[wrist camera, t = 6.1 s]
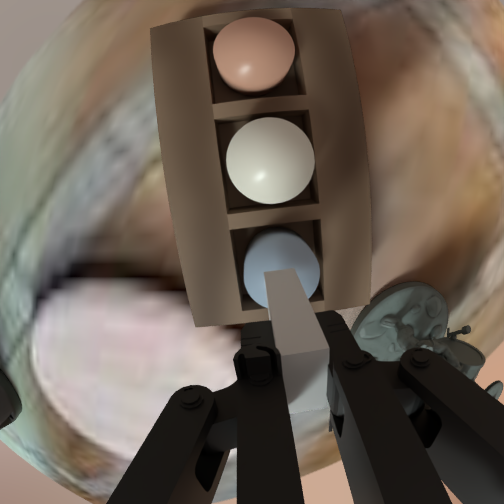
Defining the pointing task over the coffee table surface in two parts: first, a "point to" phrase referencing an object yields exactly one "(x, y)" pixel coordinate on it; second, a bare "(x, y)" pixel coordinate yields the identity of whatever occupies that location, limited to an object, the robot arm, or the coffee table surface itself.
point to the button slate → (278, 261)
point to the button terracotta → (253, 55)
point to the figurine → (416, 329)
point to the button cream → (270, 160)
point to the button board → (217, 177)
